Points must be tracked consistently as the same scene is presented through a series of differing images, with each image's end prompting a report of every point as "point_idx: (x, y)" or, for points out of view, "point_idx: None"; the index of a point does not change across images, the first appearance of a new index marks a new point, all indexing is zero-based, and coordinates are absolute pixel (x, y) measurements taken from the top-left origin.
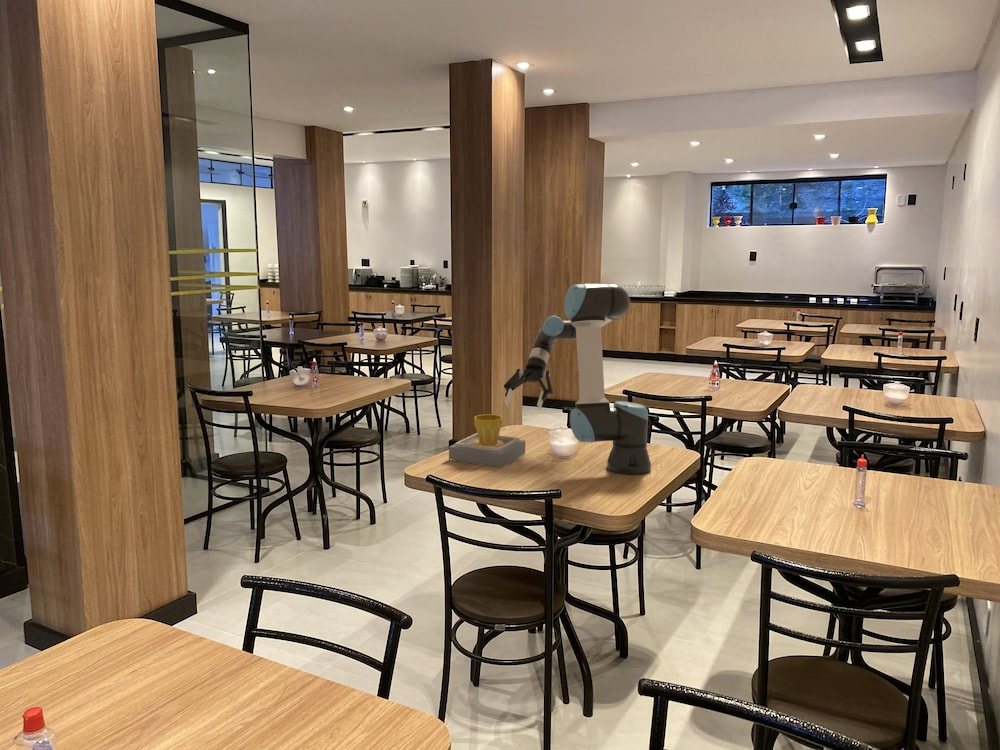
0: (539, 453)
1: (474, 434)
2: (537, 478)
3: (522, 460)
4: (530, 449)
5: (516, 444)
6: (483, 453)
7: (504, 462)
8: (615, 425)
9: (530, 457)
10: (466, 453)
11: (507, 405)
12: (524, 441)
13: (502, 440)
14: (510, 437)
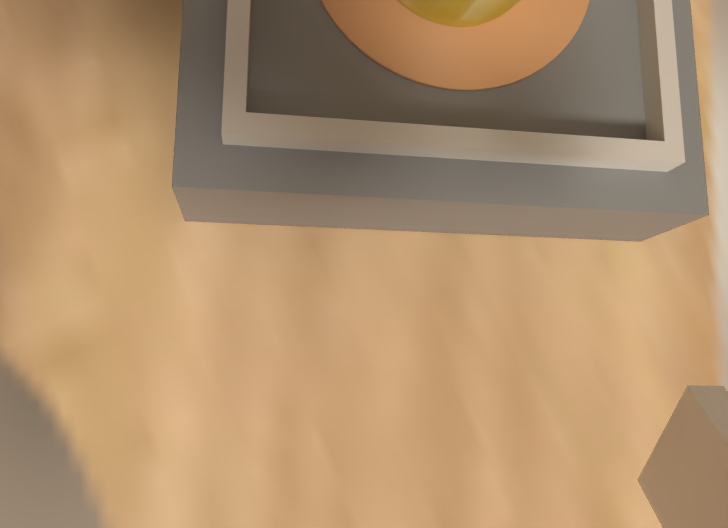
0: (61, 276)
1: (673, 93)
2: None
3: (130, 15)
4: (188, 375)
5: (197, 7)
6: None
7: None
8: None
9: (96, 122)
10: None
11: (653, 464)
12: (173, 167)
13: (383, 101)
14: (315, 117)
